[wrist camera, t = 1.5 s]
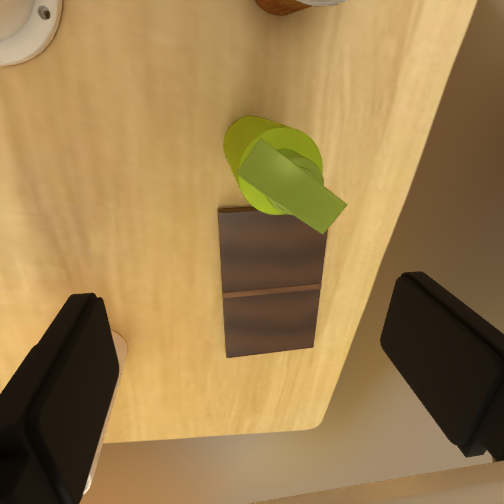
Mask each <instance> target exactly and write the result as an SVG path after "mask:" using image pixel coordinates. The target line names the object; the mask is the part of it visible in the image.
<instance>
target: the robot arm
mask: <svg viewBox="0 0 504 504" xmlns="http://www.w3.org/2000/svg"><path fill="white" fill-rule="evenodd" d="M47 12H50V18H49V19H48V18H47V17H46V13H47ZM61 12H62V0H0V66H8V65H15V64H20V63H23V62H25V61H28V60H30V59H33V58H34V57H35V56H37V55H38V54H39V53H41V52H42V51H43V50H44V49H45V48H46V47H47V46H48V44H49V43H50V42H51V41H52V39H53V37H54V35H55V33H56V30H57V28H58V26H59V22H60V17H61ZM380 342H381V346H382V349H383V350H384V351H385V353H386V354H387V356H388V357H389V358H390V360H391V361H392V362H393V364H394V365H395V367H396V368H397V369H398V371H399V372H400V373H401V375H402V376H403V378H404V379H405V380H406V382H407V383H408V384H409V386H410V387H411V389H412V390H413V391H414V393H415V394H416V395H417V397H418V398H419V400H420V401H421V402H422V404H423V405H424V406H425V408H426V409H427V411H428V412H429V413H430V415H431V416H432V417H433V419H434V420H435V422H436V423H437V424H438V426H439V427H440V428H441V430H442V431H443V432H444V434H445V435H446V437H447V438H448V439H449V440H450V442H452V443H453V444H455V445H457V446H458V448H459V449H460V450H461V452H462V453H463V454H464V456H465V457H472V456H478V455H483V454H484V453H485V451H486V450H488V452H489V453H490V454H491V455H492V457H493V458H492V459H493V463H487V464H481V465H475V466H468V467H463V468H457V469H450V470H444V471H438V472H432V473H426V474H420V475H414V476H408V477H402V478H396V479H390V480H385V481H378V482H373V483H367V484H360V485H355V486H349V487H344V488H337V489H331V490H325V491H319V492H313V493H308V494H302V495H296V496H290V497H284V498H279V499H273V500H267V501H261V502H256V503H251V504H504V334H503V333H501V332H500V331H499V330H498V329H496V328H495V327H494V326H493V325H491V324H490V323H488V322H487V321H486V320H485V319H483V318H482V317H481V316H480V315H478V314H477V313H476V312H474V311H473V310H472V309H471V308H469V307H468V306H467V305H465V304H464V303H463V302H461V301H460V300H459V299H458V298H456V297H455V296H454V295H452V294H451V293H450V292H448V291H447V290H446V289H445V288H443V287H442V286H441V285H439V284H438V283H437V282H435V281H434V280H433V279H432V278H430V277H429V276H428V275H426V274H425V273H423V272H406V273H403V274H402V275H401V277H399V278H398V279H397V280H396V283H395V287H394V290H393V294H392V298H391V302H390V305H389V309H388V312H387V316H386V319H385V323H384V327H383V331H382V334H381V339H380ZM118 377H119V361H118V357H117V353H116V349H115V345H114V341H113V337H112V333H111V329H110V325H109V321H108V317H107V313H106V309H105V305H104V301H103V299H102V298H101V297H98V298H97V297H96V295H95V294H94V293H84V294H72V295H71V296H70V297H69V298H68V300H67V301H66V303H65V304H64V305H63V307H62V308H61V310H60V311H59V313H58V314H57V316H56V317H55V319H54V320H53V322H52V323H51V325H50V326H49V328H48V329H47V331H46V332H45V334H44V335H43V337H42V338H41V340H40V341H39V343H38V344H37V345H35V346H34V347H33V348H32V349H31V350H30V352H29V353H28V355H27V356H26V357H25V359H24V360H23V362H22V363H21V365H20V366H19V368H18V369H17V371H16V372H15V374H14V375H13V376H12V378H11V379H10V381H9V382H8V384H7V385H6V387H5V388H4V390H3V391H2V392H1V394H0V504H79V503H80V501H81V499H82V496H83V493H84V490H85V486H86V483H87V480H88V477H89V473H90V470H91V467H92V463H93V460H94V457H95V453H96V450H97V447H98V443H99V440H100V437H101V433H102V430H103V427H104V423H105V420H106V417H107V413H108V410H109V407H110V403H111V400H112V397H113V393H114V390H115V387H116V383H117V380H118Z"/></svg>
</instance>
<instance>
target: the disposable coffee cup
mask: <svg viewBox="0 0 504 504" xmlns="http://www.w3.org/2000/svg"><path fill="white" fill-rule="evenodd" d="M255 1H256V3H257V4H258V5H259V6H260V7H261V8H262V9H264V10H265V11H267V12H268V13H271V14H274V15H288V14H290V13H293V12H296V11H299V10H302V9H305V8H307V7H311V6H334V5H337V4H340V3H342V2H345V1H348V0H255Z"/></svg>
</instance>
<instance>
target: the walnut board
mask: <svg viewBox="0 0 504 504" xmlns="http://www.w3.org/2000/svg"><path fill="white" fill-rule="evenodd" d="M218 223H219V241H220V258H221V276H222V294H223V311H224V329H225V346H226V358H232V357H240V356H248V355H257V354H265V353H273V352H281V351H289V350H297V349H305V348H313V346H314V337H315V329H316V321H317V313H318V305H319V297H320V289H321V281H322V272H323V264H324V256H325V248H326V240H327V232H328V229H327V230H326V231H325V232H324V234H321V233H320V232H318V231H317V230H315V229H314V228H312V227H311V226H309V225H308V224H306V223H305V222H303V221H302V220H300V219H299V218H297V217H296V216H294V215H287V214H283V215H272V214H267V213H264V212H261V211H259V210H257V209H256V208H254V207H242V208H223V209H218Z"/></svg>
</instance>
